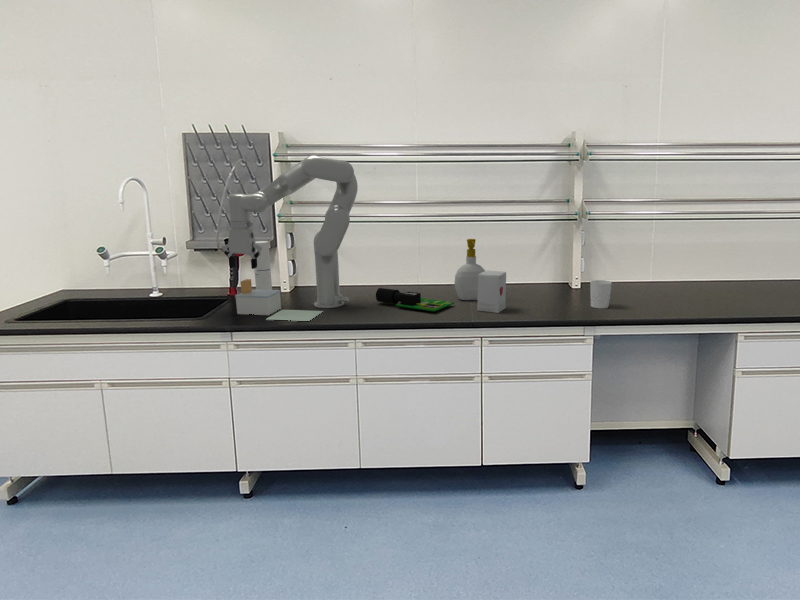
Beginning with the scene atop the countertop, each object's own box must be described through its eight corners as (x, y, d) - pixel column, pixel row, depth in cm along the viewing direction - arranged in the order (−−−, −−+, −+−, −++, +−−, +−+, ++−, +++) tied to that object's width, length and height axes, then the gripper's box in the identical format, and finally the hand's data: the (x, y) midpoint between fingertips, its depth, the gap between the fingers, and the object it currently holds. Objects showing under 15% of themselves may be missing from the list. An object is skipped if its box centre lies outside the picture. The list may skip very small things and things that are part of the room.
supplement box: (498, 313, 215) (499, 275, 212) (476, 311, 219) (477, 273, 216) (506, 308, 223) (506, 271, 219) (485, 306, 227) (485, 269, 224)
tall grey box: (268, 298, 251) (264, 243, 245) (254, 297, 252) (249, 243, 247) (275, 294, 258) (270, 241, 252) (260, 294, 259) (256, 241, 253)
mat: (323, 312, 224) (323, 311, 224) (309, 322, 210) (308, 321, 210) (282, 310, 228) (282, 309, 228) (265, 320, 214) (265, 319, 214)
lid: (280, 295, 230) (279, 278, 229) (268, 301, 220) (266, 283, 218) (249, 294, 234) (247, 277, 232) (235, 300, 223) (233, 283, 221)
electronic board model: (454, 290, 226) (434, 297, 214) (454, 306, 228) (434, 314, 216) (394, 283, 243) (373, 289, 231) (395, 298, 245) (374, 305, 233)
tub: (281, 308, 231) (279, 292, 230) (269, 315, 221) (267, 298, 219) (250, 307, 235) (249, 291, 233) (237, 314, 224) (235, 297, 223)
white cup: (601, 310, 216) (602, 284, 214) (584, 306, 223) (586, 281, 220) (614, 307, 220) (615, 282, 218) (597, 303, 227) (599, 279, 224)
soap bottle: (456, 302, 233) (456, 241, 227) (452, 298, 242) (452, 238, 236) (490, 301, 235) (491, 239, 229) (484, 296, 243) (485, 237, 237)
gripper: (264, 224, 222) (267, 267, 226) (225, 224, 226) (229, 265, 230) (255, 226, 215) (258, 270, 219) (215, 225, 219) (219, 268, 223)
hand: (243, 267), depth 225 cm, fingers open, 9 cm apart
